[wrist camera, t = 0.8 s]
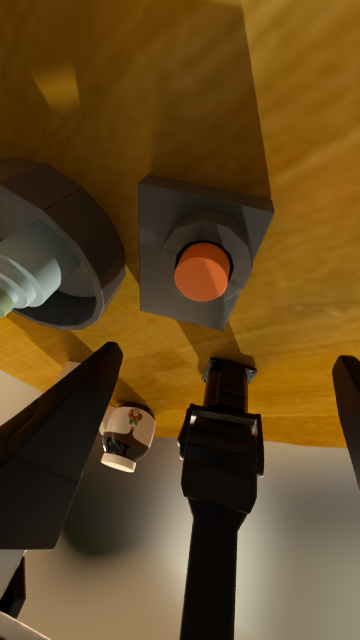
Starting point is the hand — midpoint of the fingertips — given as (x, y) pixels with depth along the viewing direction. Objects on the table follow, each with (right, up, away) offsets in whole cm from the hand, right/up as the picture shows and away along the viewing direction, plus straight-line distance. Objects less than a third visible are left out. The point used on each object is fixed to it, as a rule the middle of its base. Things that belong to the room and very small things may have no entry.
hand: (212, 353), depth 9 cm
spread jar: (-13, -20, +43) cm, 49 cm away
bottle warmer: (-14, +9, +13) cm, 21 cm away
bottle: (-14, +9, +13) cm, 21 cm away
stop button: (0, +5, +7) cm, 9 cm away
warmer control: (0, +7, +11) cm, 13 cm away
